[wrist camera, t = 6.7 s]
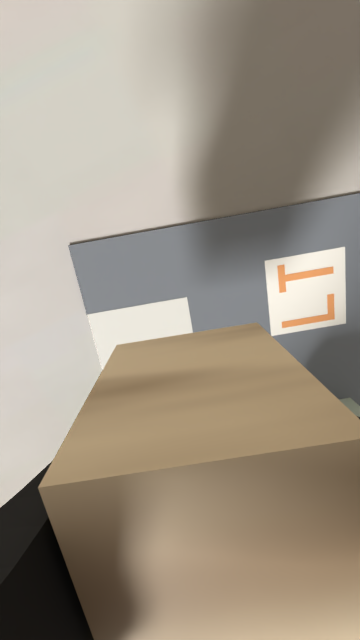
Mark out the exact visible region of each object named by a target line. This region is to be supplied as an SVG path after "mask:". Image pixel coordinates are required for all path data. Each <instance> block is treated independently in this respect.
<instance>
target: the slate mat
mask: <svg viewBox="0 0 360 640" xmlns="http://www.w3.org/2000/svg"><path fill="white" fill-rule="evenodd" d="M68 246H69V250H70V254H71V257H72V261H73V265H74V268H75V272H76V276H77V280H78V283H79V287H80V291H81V294H82V298H83V302H84V305H85V309H86V313H87V317H88V321H89V324H90V328H91V332H92V335H93V339H94V343H95V346H96V350H97V354H98V358H99V361H100V365H101V369H102V370H103V369H104V367H105V365H106V363H107V361H108V359H109V358H110V356H111V354H112V352H113V350H114V349H115V347H116V345H119V344H125V343H132V342H138V341H144V340H150V339H157V338H163V337H169V336H175V335H182V334H188V333H194V332H200V331H206V330H213V329H219V328H225V327H231V326H238V325H244V324H250V323H256V322H257V323H258V324H259V325H260V326H261V327H262V328H264V329H265V330H266V331H267V332H268V333H269V334H270V335H271V336H272V337H273V338H274V339H275V340H276V341H277V342H278V343H279V344H280V345H282V346H283V347H284V348H285V349H286V350H287V351H288V352H289V353H290V354H291V355H292V356H293V357H294V358H295V359H296V360H297V361H298V362H300V363H301V364H302V365H303V366H304V367H305V368H306V369H307V370H308V371H309V372H310V373H311V374H312V375H313V376H314V377H315V378H316V379H317V380H319V381H320V382H321V383H322V384H323V385H324V386H325V387H326V388H327V389H328V390H329V391H330V392H331V393H332V394H333V395H334V396H335V397H337V398H338V399H344V398H351V399H352V400H353V401H355V402H356V403H357V404H358V405H359V406H360V193H358V194H352V195H347V196H341V197H335V198H330V199H324V200H319V201H313V202H308V203H302V204H296V205H291V206H285V207H280V208H274V209H269V210H263V211H258V212H252V213H246V214H241V215H235V216H230V217H224V218H219V219H213V220H207V221H202V222H196V223H191V224H185V225H180V226H174V227H168V228H163V229H157V230H152V231H146V232H141V233H135V234H130V235H124V236H118V237H113V238H107V239H102V240H96V241H91V242H85V243H79V244H74V245H68Z"/></svg>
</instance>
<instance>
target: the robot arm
mask: <svg viewBox="0 0 360 640" xmlns="http://www.w3.org/2000/svg"><path fill="white" fill-rule="evenodd" d="M357 417H358V416H357ZM358 418H359V419H360V417H358ZM51 463H52V462H51ZM51 463H50V464H49V465H48V466H47V467H46V468H44V469H43V470H42V471H41V472H40V473H39V474H38V475H37V476H36V477H35V478H34V479H33V480H31V481H30V482H29V483H28V484H27V485H26V486H25V487H24V488H23V489H22V490H21V491H20V492H18V493H17V494H16V495H15V496H14V497H13V498H12V499H10V500H9V501H8V502H7V503H6V504H4V505H3V506H2V507H1V508H0V640H94V638H93V636H92V633H91V630H90V628H89V625H88V622H87V619H86V617H85V614H84V611H83V609H82V606H81V603H80V601H79V598H78V595H77V592H76V590H75V587H74V584H73V582H72V579H71V576H70V573H69V571H68V568H67V565H66V563H65V560H64V557H63V554H62V552H61V549H60V546H59V544H58V541H57V538H56V536H55V533H54V530H53V527H52V525H51V522H50V519H49V517H48V514H47V511H46V508H45V506H44V503H43V500H42V498H41V495H40V492H39V489H38V487H39V485H40V483H41V481H42V479H43V478H44V476H45V474H46V472H47V470H48V468H49V467H50V465H51Z"/></svg>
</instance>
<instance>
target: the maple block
mask: <svg viewBox="0 0 360 640" xmlns="http://www.w3.org/2000/svg"><path fill="white" fill-rule="evenodd" d="M38 489H39V492H40V495H41V498H42V500H43V503H44V506H45V508H46V511H47V514H48V517H49V519H50V522H51V525H52V527H53V530H54V533H55V536H56V538H57V541H58V544H59V546H60V549H61V552H62V554H63V557H64V560H65V563H66V565H67V568H68V571H69V573H70V576H71V579H72V582H73V584H74V587H75V590H76V592H77V595H78V598H79V601H80V603H81V606H82V609H83V611H84V614H85V617H86V619H87V622H88V625H89V628H90V630H91V633H92V636H93V638H94V640H360V419H359V418H358V417H357V416H356V415H355V414H353V413H352V412H351V411H350V410H349V409H348V408H347V407H346V406H345V405H344V404H343V403H342V402H341V401H340V400H339V399H338V398H337V397H335V396H334V395H333V394H332V393H331V392H330V391H329V390H328V389H327V388H326V387H325V386H324V385H323V384H322V383H321V382H320V381H319V380H317V379H316V378H315V377H314V376H313V375H312V374H311V373H310V372H309V371H308V370H307V369H306V368H305V367H304V366H303V365H302V364H301V363H300V362H298V361H297V360H296V359H295V358H294V357H293V356H292V355H291V354H290V353H289V352H288V351H287V350H286V349H285V348H284V347H283V346H282V345H280V344H279V343H278V342H277V341H276V340H275V339H274V338H273V337H272V336H271V335H270V334H269V333H268V332H267V331H266V330H265V329H264V328H262V327H261V326H260V325H259V324H258V323H257V322H256V323H250V324H244V325H238V326H231V327H225V328H219V329H213V330H206V331H200V332H194V333H188V334H182V335H175V336H169V337H163V338H157V339H150V340H144V341H138V342H132V343H125V344H119V345H116V347H115V349H114V350H113V352H112V354H111V356H110V358H109V359H108V361H107V363H106V365H105V367H104V369H103V370H102V372H101V374H100V376H99V378H98V379H97V381H96V383H95V385H94V387H93V389H92V390H91V392H90V394H89V396H88V398H87V399H86V401H85V403H84V405H83V407H82V409H81V410H80V412H79V414H78V416H77V418H76V419H75V421H74V423H73V425H72V427H71V429H70V430H69V432H68V434H67V436H66V438H65V439H64V441H63V443H62V445H61V447H60V449H59V450H58V452H57V454H56V456H55V458H54V459H53V461H52V463H51V465H50V467H49V468H48V470H47V472H46V474H45V476H44V478H43V479H42V481H41V483H40V485H39V487H38Z"/></svg>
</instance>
